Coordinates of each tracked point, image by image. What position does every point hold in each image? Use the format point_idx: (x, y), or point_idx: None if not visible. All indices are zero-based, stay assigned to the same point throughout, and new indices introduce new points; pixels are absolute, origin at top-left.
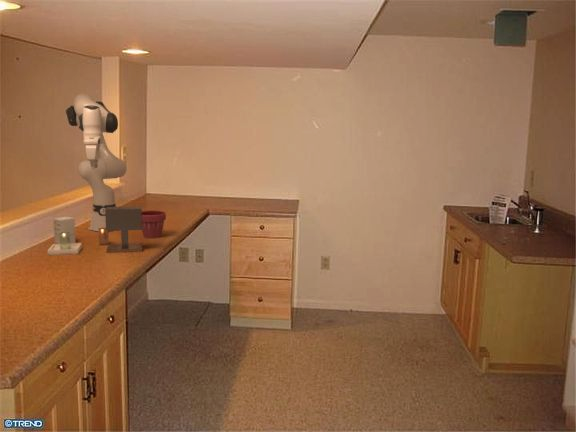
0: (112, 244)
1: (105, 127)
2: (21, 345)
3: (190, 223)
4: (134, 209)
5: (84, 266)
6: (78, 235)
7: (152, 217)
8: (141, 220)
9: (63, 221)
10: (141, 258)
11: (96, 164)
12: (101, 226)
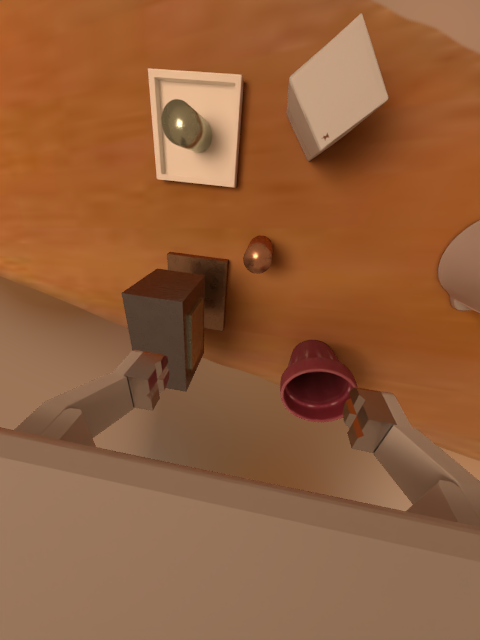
0: (219, 269)
1: None
2: None
3: None
4: None
5: (55, 202)
6: (433, 163)
7: (280, 388)
8: None
9: (294, 96)
10: (123, 312)
11: (355, 443)
12: (463, 249)
